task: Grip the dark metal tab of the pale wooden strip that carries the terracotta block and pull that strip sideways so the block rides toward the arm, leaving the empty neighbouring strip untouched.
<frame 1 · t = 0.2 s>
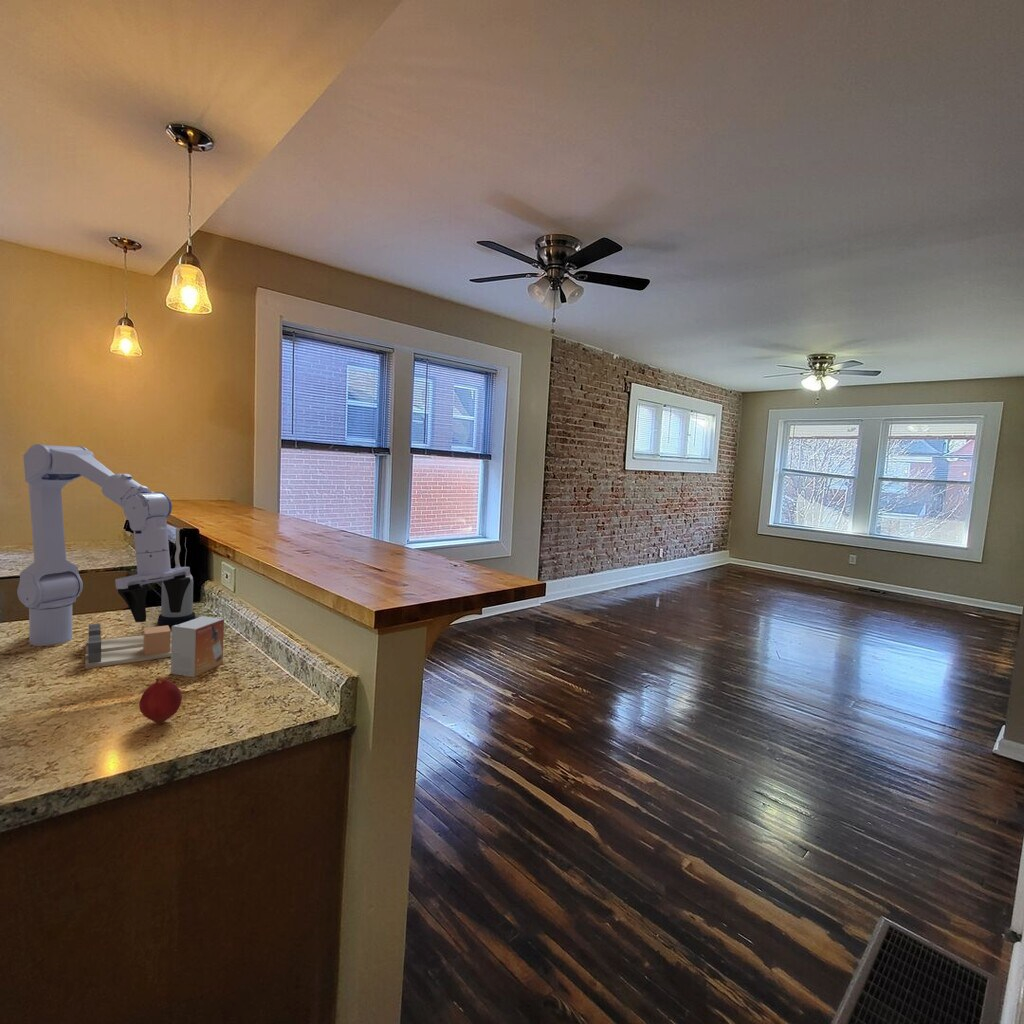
hand: (158, 616, 110), 10 cm above the countertop, tool pointing down, fingers open, 7 cm apart
humidifier: (176, 626, 135), on the countertop
block: (156, 649, 114), point 2 cm above the countertop, touching near strip
near strip: (134, 645, 112), point 3 cm above the countertop, slide at 0.0 cm, touching block
small box: (197, 673, 109), on the countertop
onion: (160, 723, 88), on the countertop
far strip: (131, 633, 119), point 3 cm above the countertop, slide at 0.0 cm
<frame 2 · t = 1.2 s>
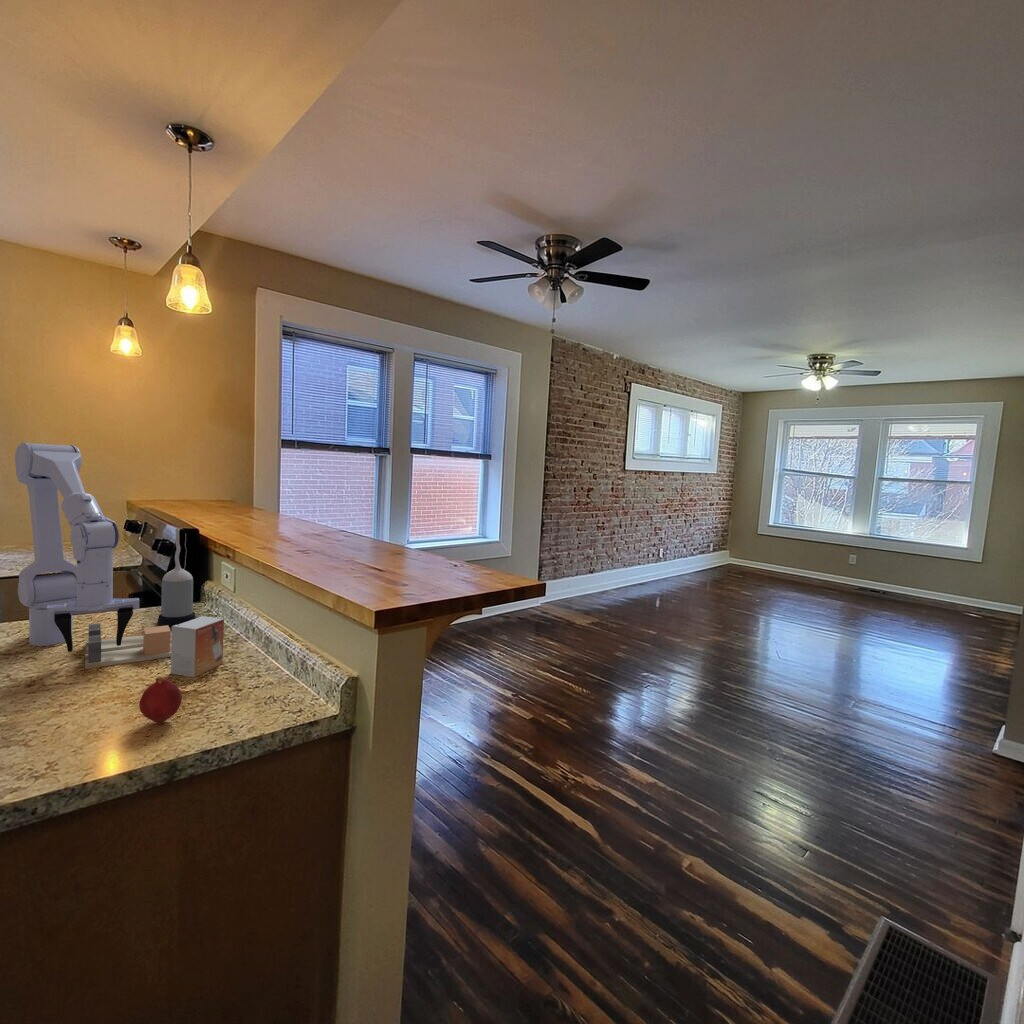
hand: (94, 647, 108), 4 cm above the countertop, tool pointing down, fingers open, 7 cm apart
nothing on the countertop moved.
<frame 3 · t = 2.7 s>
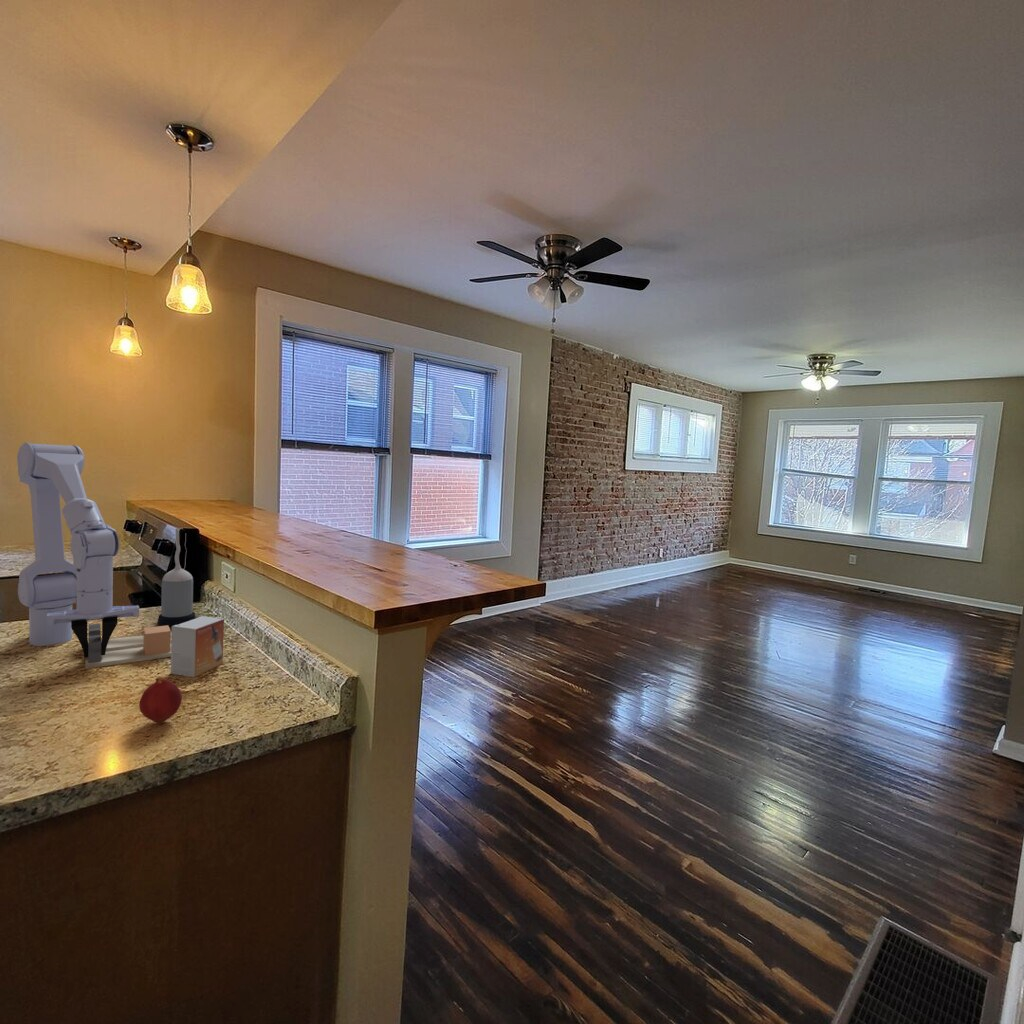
hand: (94, 654, 108), 2 cm above the countertop, tool pointing down, fingers closed on near strip, 2 cm apart
near strip: (134, 645, 112), point 3 cm above the countertop, slide at 0.0 cm, touching block, gripper
everything else where it was.
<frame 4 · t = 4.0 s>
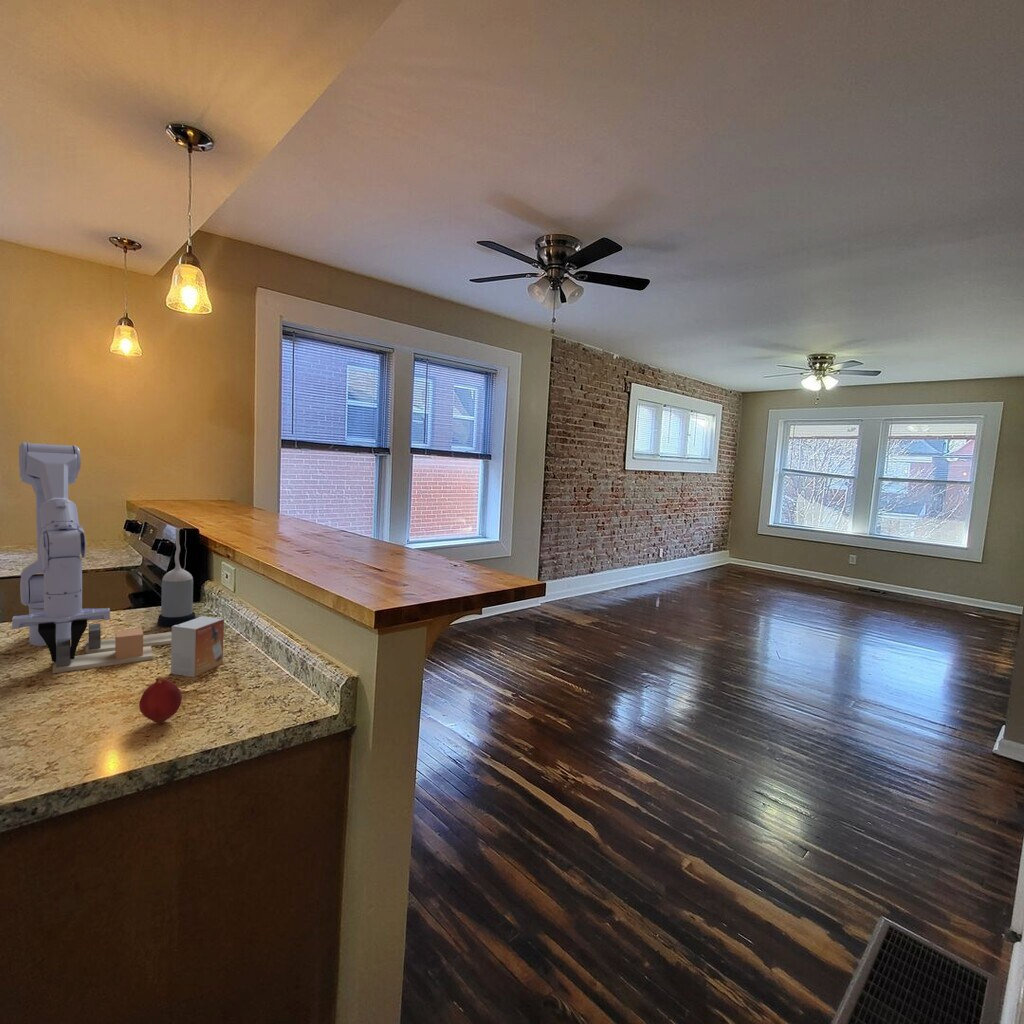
hand: (63, 658, 105), 2 cm above the countertop, tool pointing down, fingers closed on near strip, 2 cm apart
block: (129, 653, 111), point 2 cm above the countertop, touching near strip
near strip: (105, 649, 109), point 3 cm above the countertop, slide at 4.8 cm, touching block, gripper
everything else where it was.
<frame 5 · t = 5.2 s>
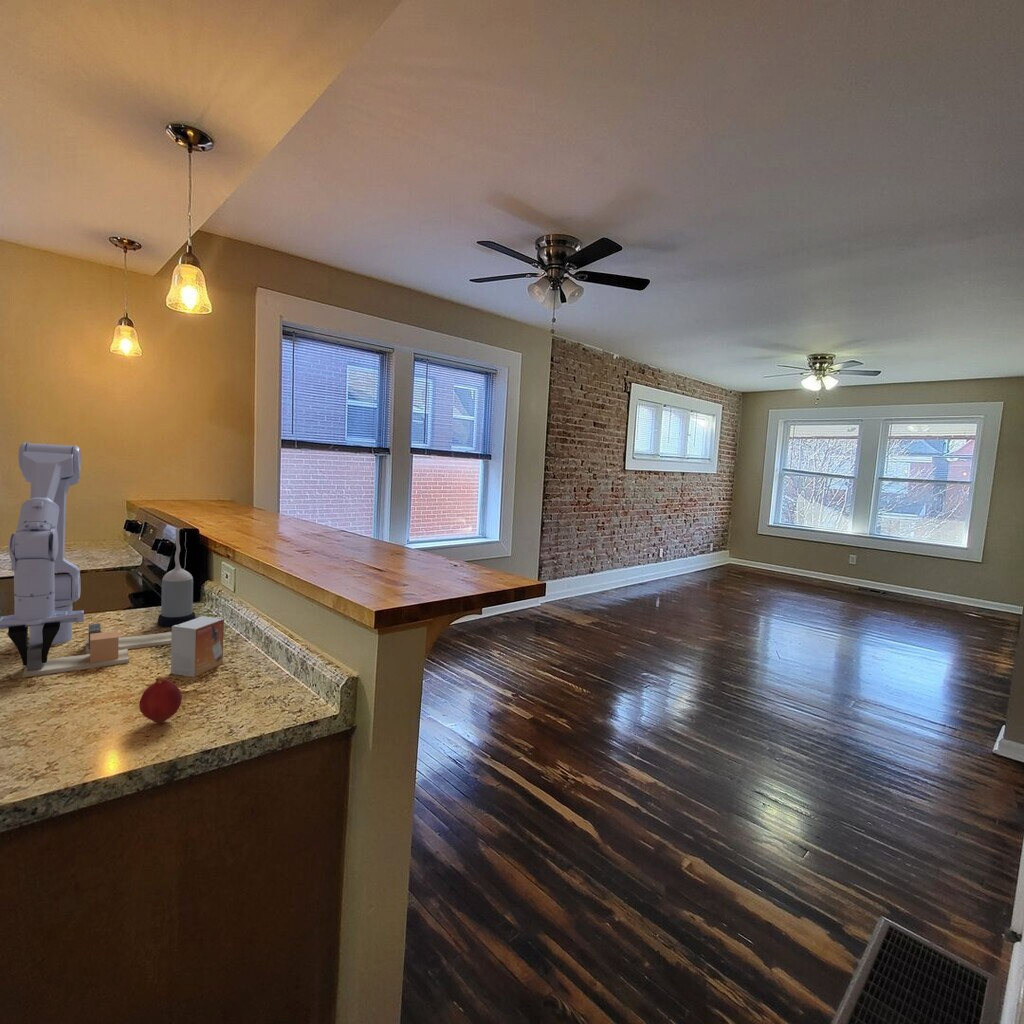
hand: (35, 662, 102), 2 cm above the countertop, tool pointing down, fingers closed on near strip, 2 cm apart
block: (104, 656, 109), point 2 cm above the countertop, touching near strip
near strip: (78, 652, 106), point 3 cm above the countertop, slide at 9.0 cm, touching block, gripper
everything else where it was.
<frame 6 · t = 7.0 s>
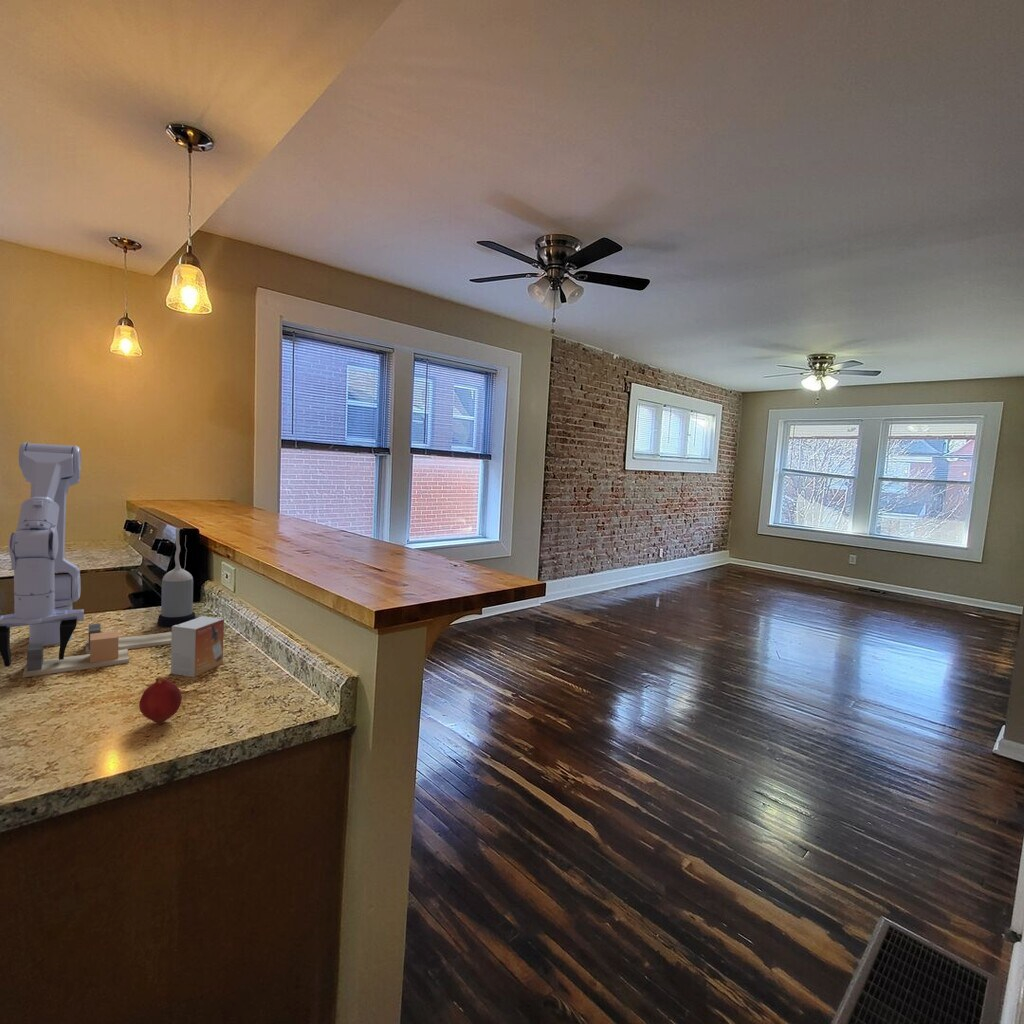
hand: (35, 661, 102), 3 cm above the countertop, tool pointing down, fingers open, 7 cm apart
near strip: (78, 652, 106), point 3 cm above the countertop, slide at 9.0 cm, touching block
everything else where it was.
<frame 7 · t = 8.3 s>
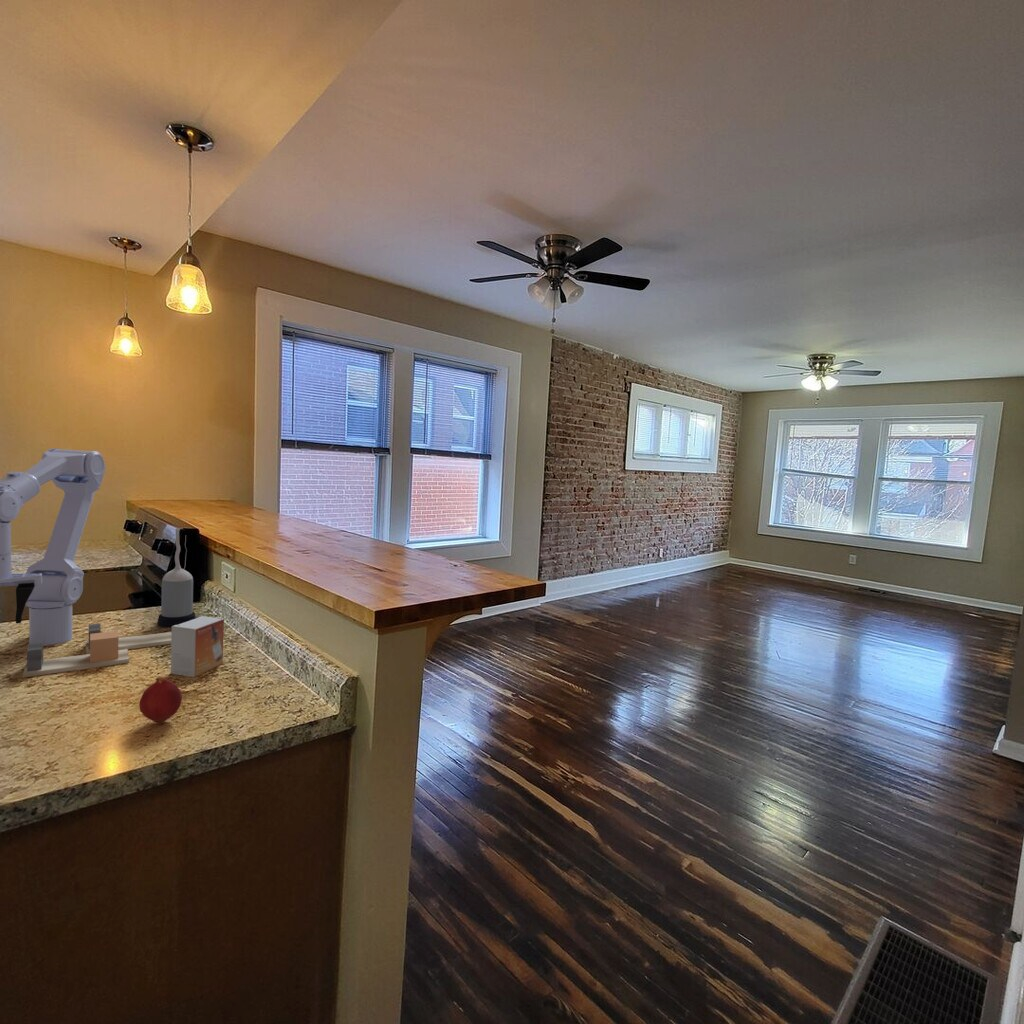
nothing on the countertop moved.
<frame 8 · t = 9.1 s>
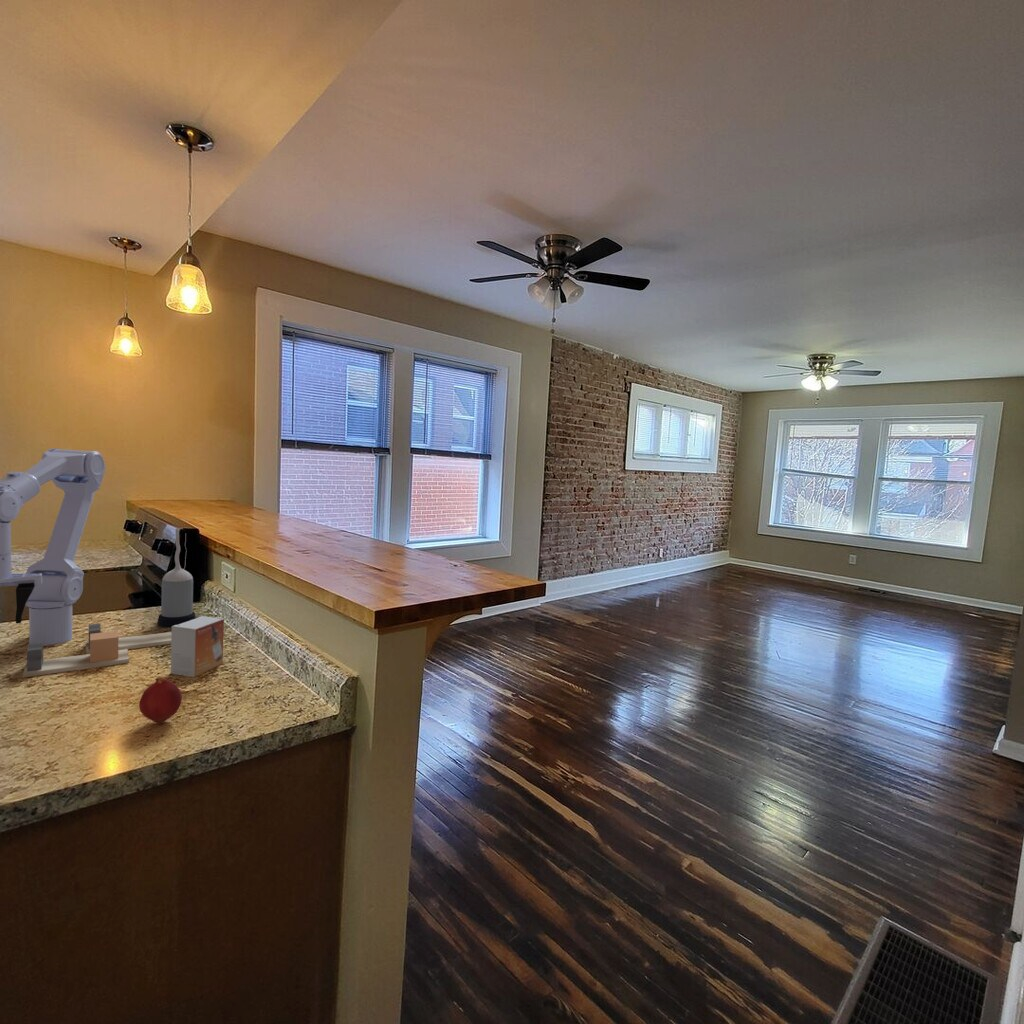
nothing on the countertop moved.
at the end: block inside the target area (0.3 cm from its centre), point 1.7 cm above the countertop; near strip slide at 9.0 cm; far strip slide at 0.0 cm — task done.
